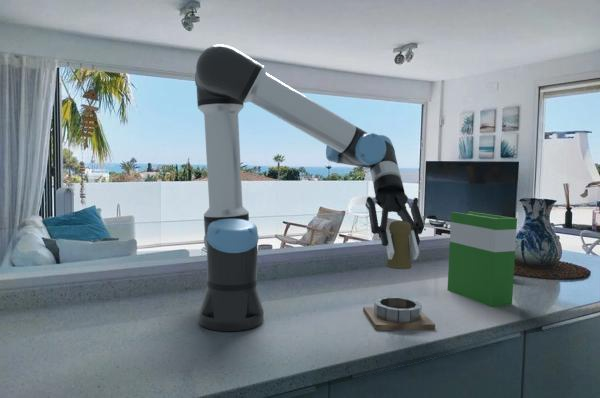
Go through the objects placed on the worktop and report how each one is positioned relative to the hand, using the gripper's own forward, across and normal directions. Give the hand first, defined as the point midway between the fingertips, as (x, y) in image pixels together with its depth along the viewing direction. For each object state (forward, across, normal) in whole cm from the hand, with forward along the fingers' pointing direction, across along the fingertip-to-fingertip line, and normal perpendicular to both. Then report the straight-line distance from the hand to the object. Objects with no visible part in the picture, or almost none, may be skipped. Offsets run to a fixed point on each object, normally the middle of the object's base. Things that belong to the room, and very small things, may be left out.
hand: (403, 256), depth 107 cm
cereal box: (-5, -30, -29) cm, 42 cm away
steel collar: (+8, 0, -13) cm, 16 cm away
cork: (0, 0, -5) cm, 5 cm away
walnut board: (+9, 0, -14) cm, 17 cm away
